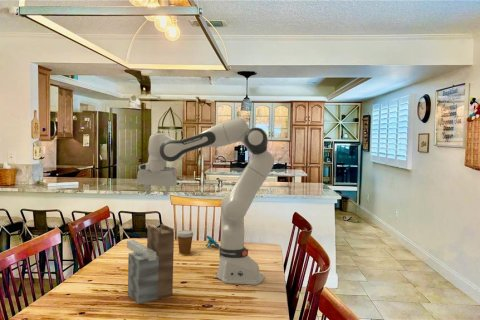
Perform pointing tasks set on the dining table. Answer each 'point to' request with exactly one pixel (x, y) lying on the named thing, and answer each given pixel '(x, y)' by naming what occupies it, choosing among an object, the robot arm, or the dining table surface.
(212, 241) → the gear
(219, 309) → the dining table surface
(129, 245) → the steel bar
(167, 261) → the stand
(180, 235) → the disposable coffee cup
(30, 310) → the dining table surface
